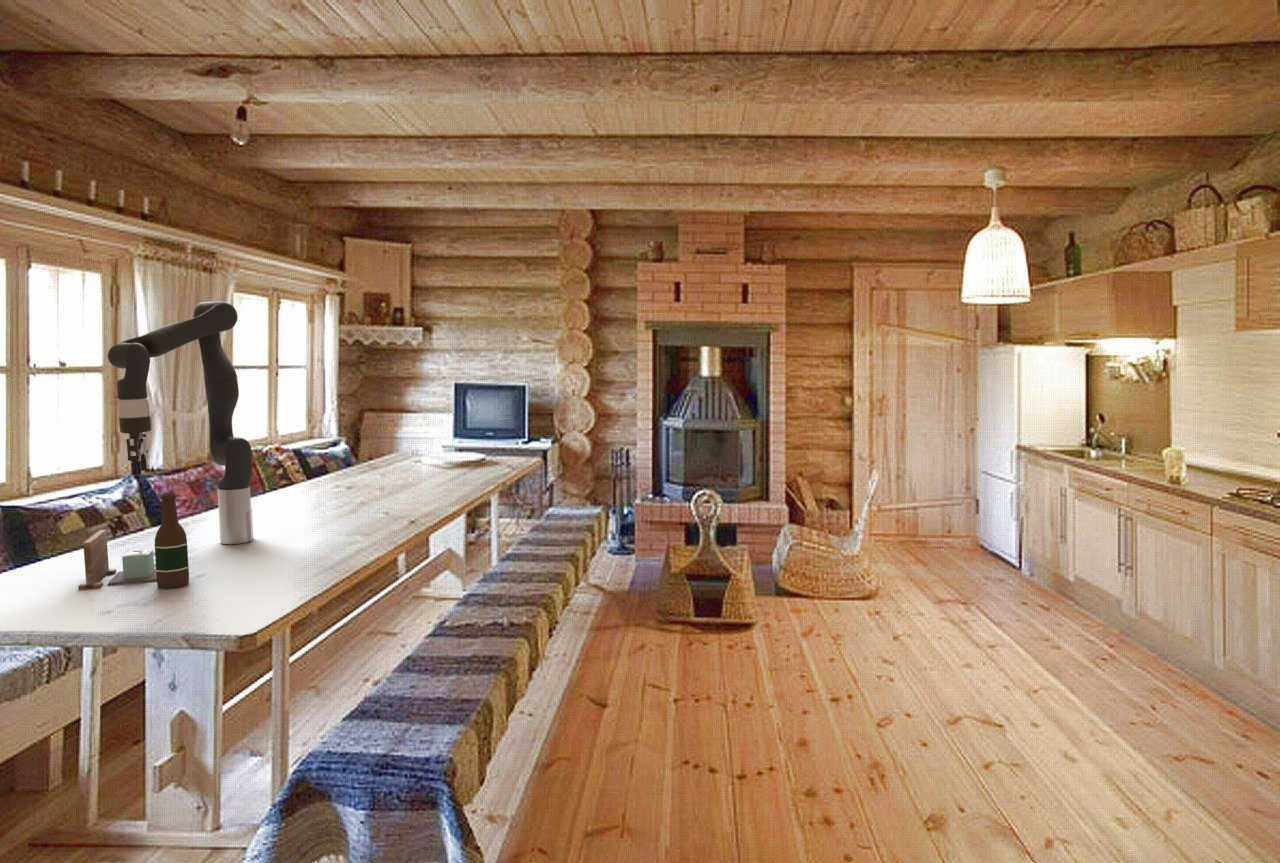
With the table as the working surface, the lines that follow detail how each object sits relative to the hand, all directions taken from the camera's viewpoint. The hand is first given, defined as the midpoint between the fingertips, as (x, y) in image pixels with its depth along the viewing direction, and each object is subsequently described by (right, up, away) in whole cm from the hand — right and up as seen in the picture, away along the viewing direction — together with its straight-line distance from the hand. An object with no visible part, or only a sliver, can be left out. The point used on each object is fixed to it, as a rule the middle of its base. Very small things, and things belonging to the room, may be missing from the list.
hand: (139, 472), depth 234 cm
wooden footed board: (-3, -28, -13) cm, 31 cm away
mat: (+6, -28, -10) cm, 30 cm away
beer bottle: (+20, -28, -18) cm, 39 cm away
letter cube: (+6, -27, -10) cm, 29 cm away
